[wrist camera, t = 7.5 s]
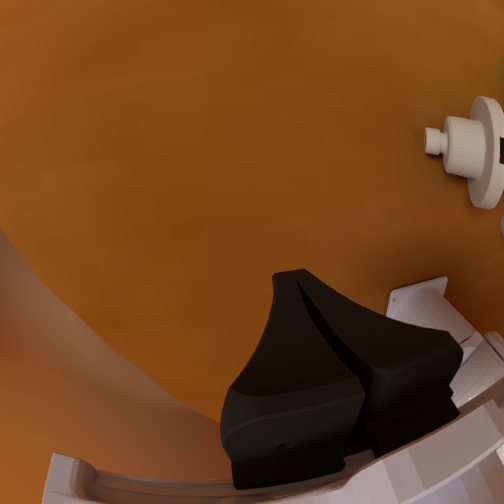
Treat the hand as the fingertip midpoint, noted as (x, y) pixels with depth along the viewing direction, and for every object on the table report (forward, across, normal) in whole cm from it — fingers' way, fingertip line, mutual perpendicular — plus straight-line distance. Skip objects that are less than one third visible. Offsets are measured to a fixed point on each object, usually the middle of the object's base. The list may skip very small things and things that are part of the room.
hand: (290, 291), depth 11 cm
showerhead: (+9, -14, -5) cm, 18 cm away
